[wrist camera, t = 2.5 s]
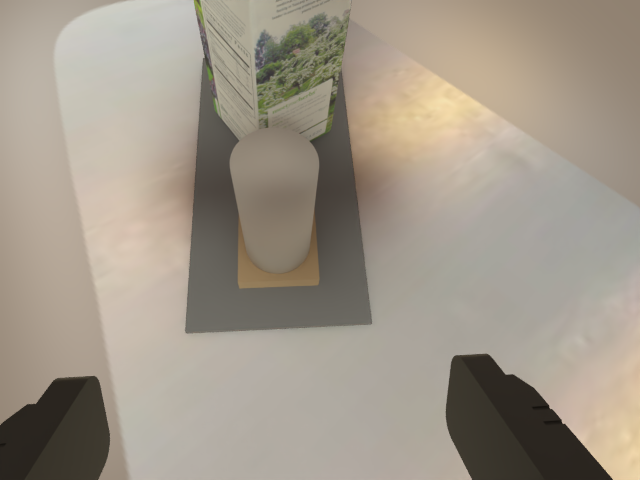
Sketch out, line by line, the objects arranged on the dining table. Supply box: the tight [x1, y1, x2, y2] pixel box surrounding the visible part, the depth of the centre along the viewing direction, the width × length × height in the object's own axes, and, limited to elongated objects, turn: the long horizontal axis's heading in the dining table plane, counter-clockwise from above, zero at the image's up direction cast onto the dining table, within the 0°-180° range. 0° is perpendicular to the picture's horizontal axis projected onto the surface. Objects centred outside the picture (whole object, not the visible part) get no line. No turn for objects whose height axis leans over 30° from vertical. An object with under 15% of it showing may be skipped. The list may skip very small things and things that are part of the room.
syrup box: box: [194, 0, 352, 142], centre depth 23 cm, size 6×6×14 cm
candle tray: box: [185, 58, 372, 333], centre depth 24 cm, size 10×20×9 cm, turn 4°
